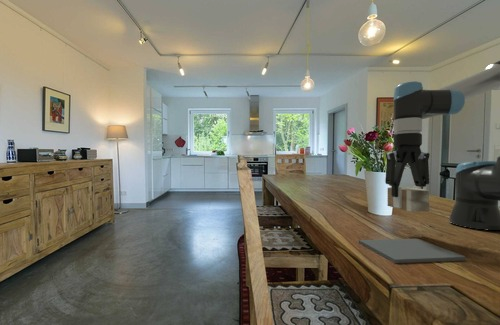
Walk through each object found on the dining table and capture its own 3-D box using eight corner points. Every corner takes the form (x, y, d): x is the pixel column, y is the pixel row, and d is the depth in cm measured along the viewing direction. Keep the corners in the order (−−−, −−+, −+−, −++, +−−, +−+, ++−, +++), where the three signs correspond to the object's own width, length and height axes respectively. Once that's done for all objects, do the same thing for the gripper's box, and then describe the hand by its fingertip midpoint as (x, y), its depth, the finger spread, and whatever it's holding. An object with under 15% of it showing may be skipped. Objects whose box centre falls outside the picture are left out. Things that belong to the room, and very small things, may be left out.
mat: (417, 241, 73) (417, 238, 73) (465, 260, 59) (465, 256, 59) (358, 243, 70) (358, 240, 70) (394, 263, 56) (395, 259, 56)
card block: (404, 205, 85) (404, 186, 85) (429, 211, 75) (429, 189, 75) (387, 206, 84) (387, 186, 84) (410, 211, 74) (410, 190, 74)
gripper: (424, 135, 85) (424, 204, 85) (372, 134, 82) (371, 205, 82) (445, 132, 77) (444, 208, 78) (388, 131, 75) (387, 210, 75)
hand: (407, 207), depth 80 cm, fingers closed on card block, 6 cm apart
